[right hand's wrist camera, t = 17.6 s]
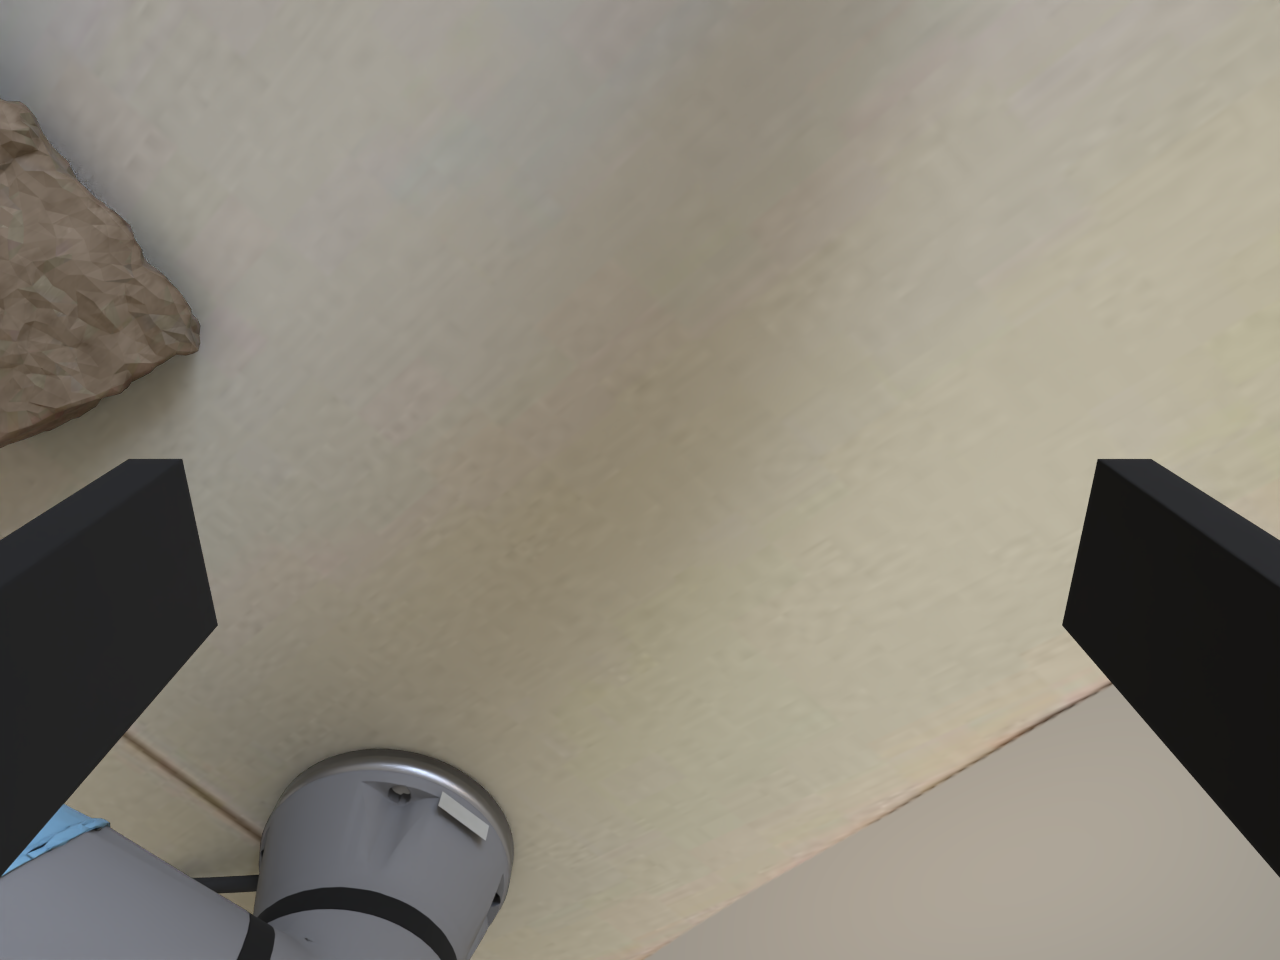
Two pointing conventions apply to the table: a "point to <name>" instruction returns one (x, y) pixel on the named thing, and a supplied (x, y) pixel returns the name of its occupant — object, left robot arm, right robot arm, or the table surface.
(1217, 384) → the table surface
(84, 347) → the stone
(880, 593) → the table surface
